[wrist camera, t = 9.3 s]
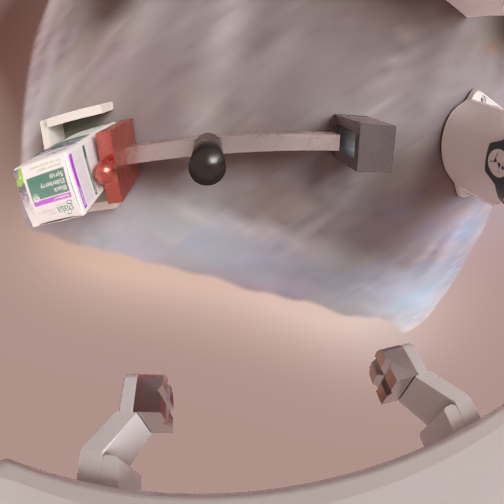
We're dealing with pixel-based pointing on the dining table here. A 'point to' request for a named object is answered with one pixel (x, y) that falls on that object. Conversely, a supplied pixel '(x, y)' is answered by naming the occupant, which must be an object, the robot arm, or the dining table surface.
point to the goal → (55, 133)
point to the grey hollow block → (365, 143)
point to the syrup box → (61, 179)
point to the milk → (479, 7)
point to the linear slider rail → (189, 153)
